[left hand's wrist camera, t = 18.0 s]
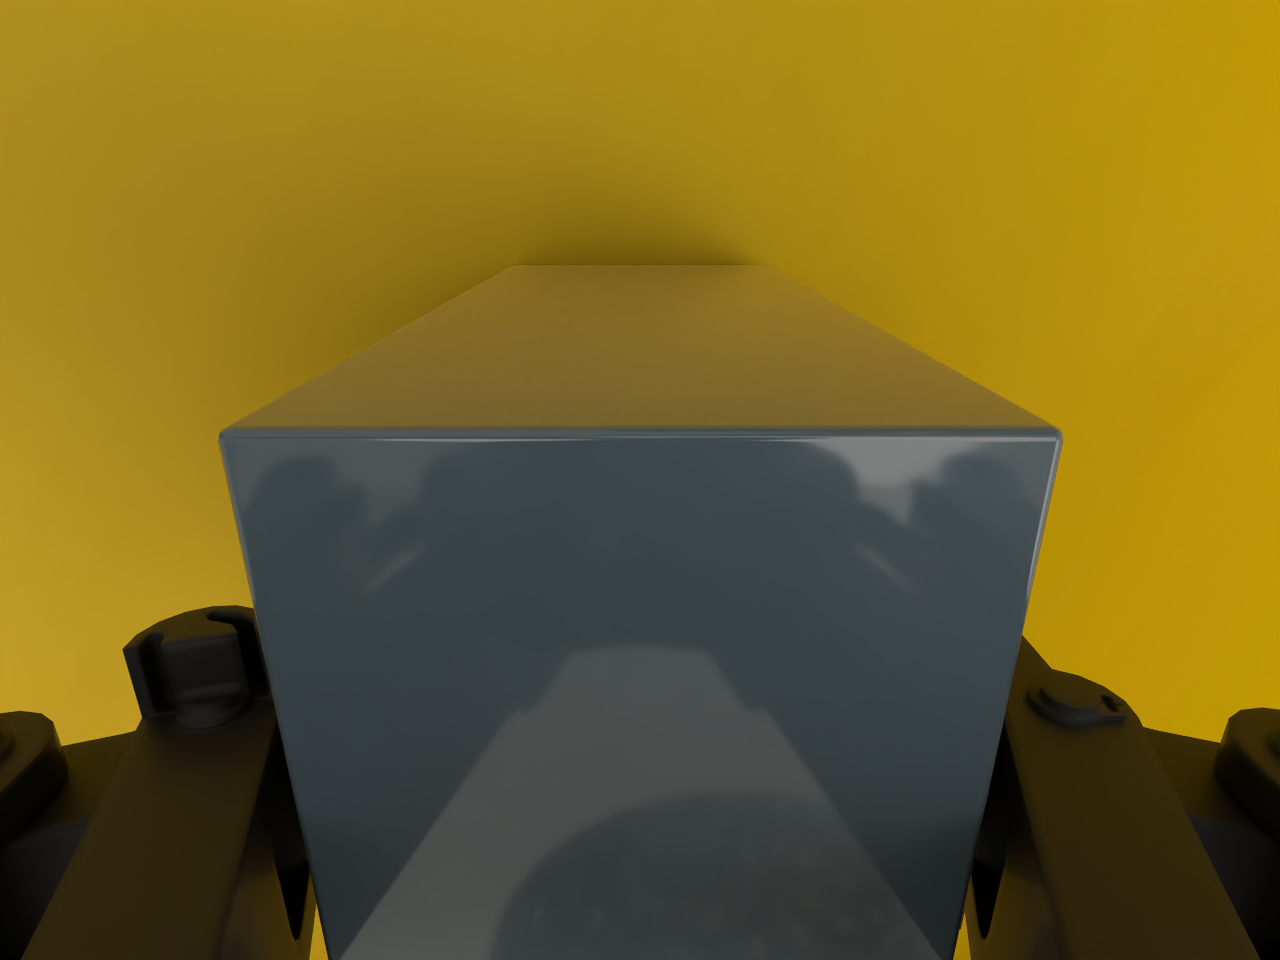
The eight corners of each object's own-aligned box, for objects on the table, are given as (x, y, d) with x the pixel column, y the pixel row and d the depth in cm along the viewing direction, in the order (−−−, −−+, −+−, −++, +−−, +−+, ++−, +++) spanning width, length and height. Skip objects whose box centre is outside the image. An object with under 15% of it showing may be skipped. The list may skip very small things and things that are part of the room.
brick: (531, 618, 19) (379, 1215, 8) (509, 264, 16) (210, 430, 5) (748, 618, 19) (902, 1214, 8) (769, 264, 16) (1072, 428, 5)
